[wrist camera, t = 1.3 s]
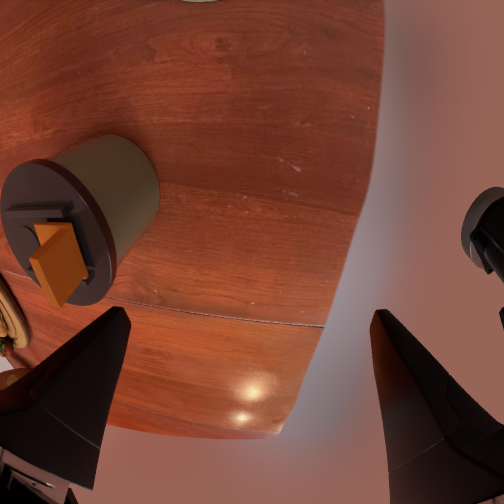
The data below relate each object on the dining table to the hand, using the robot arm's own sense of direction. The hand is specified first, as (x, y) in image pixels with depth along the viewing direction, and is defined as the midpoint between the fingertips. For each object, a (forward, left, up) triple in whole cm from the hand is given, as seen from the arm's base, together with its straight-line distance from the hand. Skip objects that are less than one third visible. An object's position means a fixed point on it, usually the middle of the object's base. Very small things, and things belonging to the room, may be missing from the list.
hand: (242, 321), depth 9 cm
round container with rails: (+10, +8, -13) cm, 19 cm away
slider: (+9, +7, -4) cm, 12 cm away
